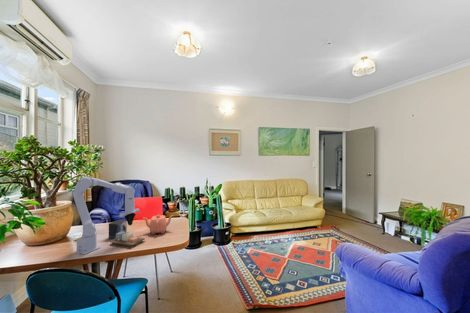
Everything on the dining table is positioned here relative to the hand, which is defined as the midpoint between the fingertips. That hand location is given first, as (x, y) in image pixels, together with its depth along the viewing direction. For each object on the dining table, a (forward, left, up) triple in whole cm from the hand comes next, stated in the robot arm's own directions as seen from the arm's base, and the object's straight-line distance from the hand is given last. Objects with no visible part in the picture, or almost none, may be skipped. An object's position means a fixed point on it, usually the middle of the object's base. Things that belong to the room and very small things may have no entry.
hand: (130, 224), depth 140 cm
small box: (+3, +15, -11) cm, 19 cm away
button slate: (-4, +3, -8) cm, 10 cm away
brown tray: (-4, -2, -10) cm, 11 cm away
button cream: (-4, -2, -8) cm, 9 cm away
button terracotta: (-4, -8, -10) cm, 13 cm away
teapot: (+19, -7, -11) cm, 23 cm away
